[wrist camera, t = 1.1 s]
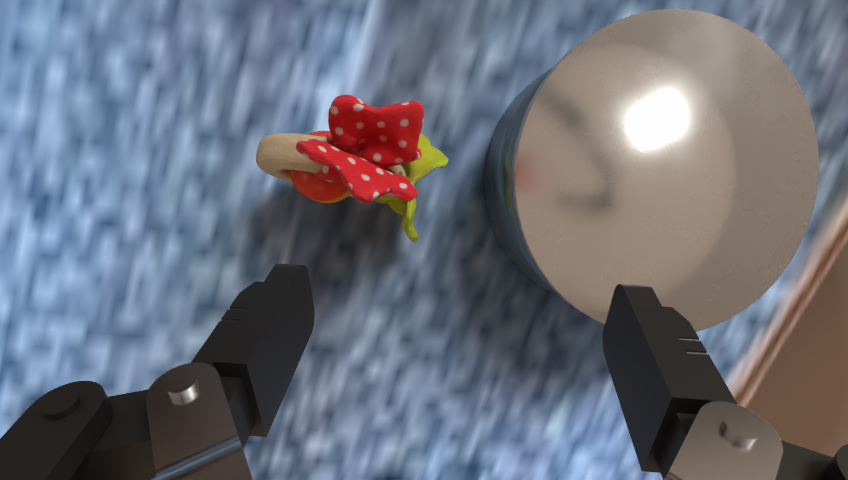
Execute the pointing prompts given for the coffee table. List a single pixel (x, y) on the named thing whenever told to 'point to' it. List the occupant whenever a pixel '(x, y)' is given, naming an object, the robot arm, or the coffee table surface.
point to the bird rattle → (358, 156)
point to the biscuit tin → (656, 168)
